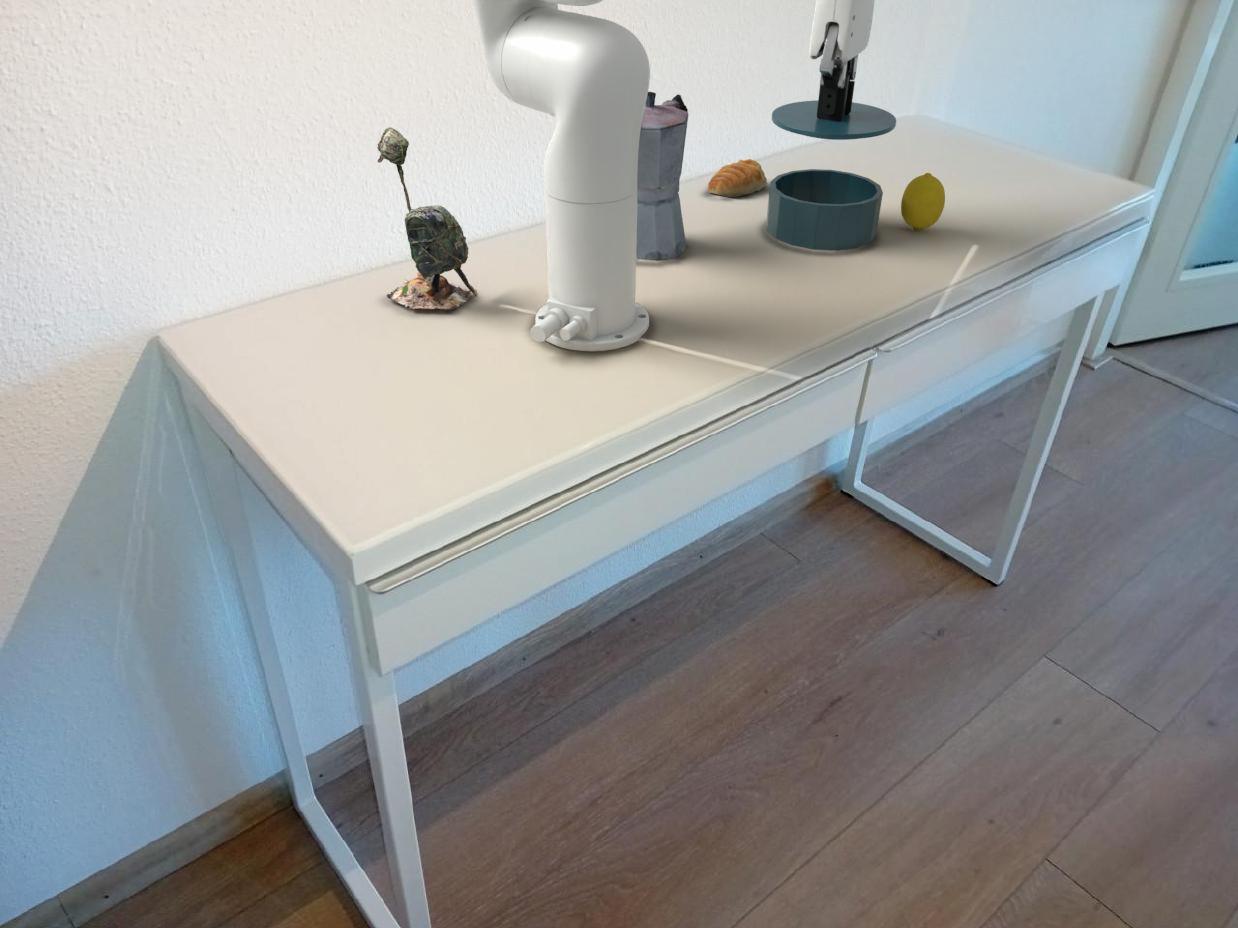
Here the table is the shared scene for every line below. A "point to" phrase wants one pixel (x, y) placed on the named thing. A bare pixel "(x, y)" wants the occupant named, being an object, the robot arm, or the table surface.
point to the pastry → (738, 179)
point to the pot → (823, 209)
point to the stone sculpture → (428, 244)
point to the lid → (852, 126)
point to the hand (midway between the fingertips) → (833, 115)
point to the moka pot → (660, 179)
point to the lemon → (923, 202)
